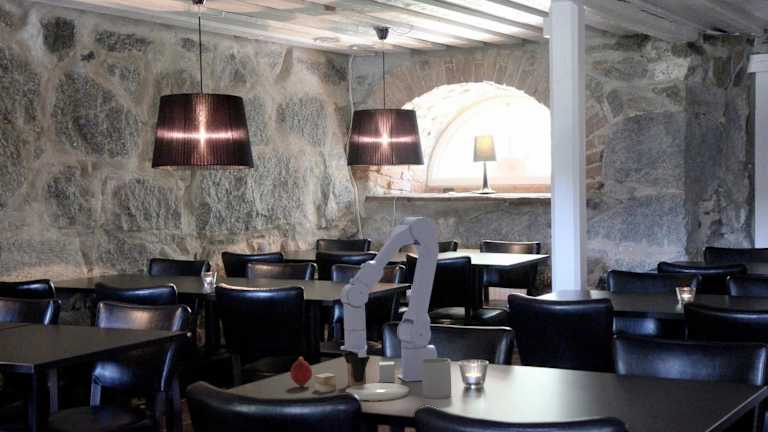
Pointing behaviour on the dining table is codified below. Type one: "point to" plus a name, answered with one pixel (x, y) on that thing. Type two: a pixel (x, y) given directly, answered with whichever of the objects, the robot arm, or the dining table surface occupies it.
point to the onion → (301, 372)
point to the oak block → (325, 382)
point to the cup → (436, 378)
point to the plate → (379, 391)
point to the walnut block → (351, 378)
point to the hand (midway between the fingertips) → (356, 380)
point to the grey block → (387, 372)
